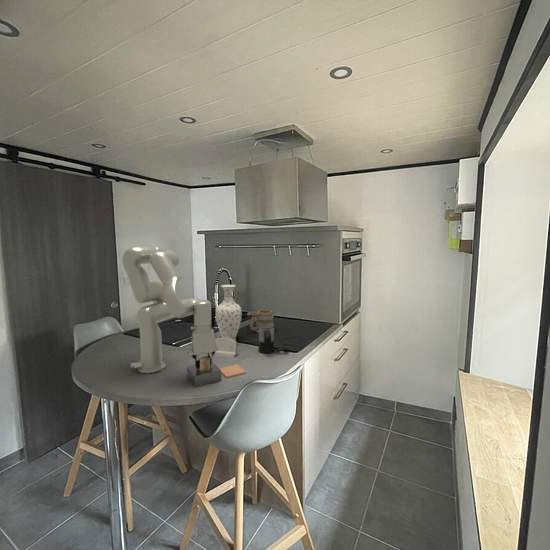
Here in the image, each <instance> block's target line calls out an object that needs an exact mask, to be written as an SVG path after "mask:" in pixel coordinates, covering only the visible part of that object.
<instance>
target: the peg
mask: <svg viewBox="0 0 550 550" xmlns="http://www.w3.org/2000/svg"><path fill="white" fill-rule="evenodd" d="M199 360H200V369H198V368H197V370H198V371H199V372H202V371H206V370H210V358H209V357H208V355H207V354H206V355H205V354H204V355H200V356H199Z"/></svg>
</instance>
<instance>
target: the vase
mask: <svg viewBox="0 0 550 550" xmlns="http://www.w3.org/2000/svg"><path fill="white" fill-rule="evenodd" d="M220 287H221V288H222V289H223V293H224V295H223V301H222V302H221V303H220V304H219V305H217V306H216V308H215V320H216V321H215V322H216V325H217V327H218V331H219V334H220V336H221V337H220V338H229V339H232V340H235V341H236V339H237V335H238V332H239V329H240V325H241V322H242V307H241V306H240V304H238V303H236V302H235V300H234V297H233V296H234V295H233V293H234V289H235V287H236V285H235V284H222V285H221V286H220Z"/></svg>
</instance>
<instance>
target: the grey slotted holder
mask: <svg viewBox="0 0 550 550" xmlns="http://www.w3.org/2000/svg"><path fill="white" fill-rule="evenodd" d="M186 377H187V379H188V378H189V379H188V381H189V382H190V383H191V382H192V383H191V384H192V385H193V387H194V388H197V387H198V386H199V387H203V386H206V385H210V384H213V383H218V382H221V381H222V373H221V370H220V369H219V366H218V365H217V364H216V363H214V362H213V361H212V364H211V367H210V370H206V371H202V372H199V371H198V370H197V367H196V366H195V364H191V365H187V366H186Z"/></svg>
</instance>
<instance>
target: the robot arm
mask: <svg viewBox="0 0 550 550" xmlns="http://www.w3.org/2000/svg"><path fill="white" fill-rule="evenodd" d="M121 261H122V266H123V269H124V271H125V272H126V275H127V277H128V280H129V284H130V287H131V290H132V294H133V297H134V300H135V301H136V303H138V304H146V303H150V304H146V305H143V306H141V308H140V309H138V311H137V313H136V320H137V323H138V326H139V339H140V359H139V361H137V362H131V363H130V368H134V369H137V370H138V372H139V373H142V374H154V373H158V372H161V371H163V370H164V369H165V368H166V367H167V364H166V362H164V361H163V348H162V347H163V346H162V341H163V340H162V330H161V328H160V327H159V324H158V323H161V322H163V321H166V320H169V319H170V317H171V316H173V317H175V318H177V319H183V318H186V317H188V316H192V315H193V321H194V322H193V326H190V330H191V331H192V334H191V343H190V345H191V347H190V348H189V350H188V351H187V356H188V357H190V358H192V359H194V360H195V361H194V362H195V364H194V365H195V366H196V367H197V368H198V369H200V360H199V357H200V356H202V355H205V354H206V355H207V353H208V355H207V356H208V357H209V358H210V367H211V364H212V362H213V361H212V359H213V356H215V355H214V354H215V352H216V351H218V349H219V348H218V347H217V346H216V344H215V338H216V336H215V332H214V329H213V328H212V303H211V301H210V300H207V299H198V298H196V297H189V298H185V299H180V298H179V295H178V294H177V292H176V285H177V284H178V283H179V282H180V281H181V278H182V277H181V275H180V273H179V272H178V270H177V269H176V268H177V266H178V265H179V263H180V258H179V256H178V254H177V253H176V252H175V251H173V250H170V249H167V248H164V247H159V246H155V245H147V246H146V245H143V246H142V245H141V246H140V245H138V246H132V247H129V248H127V249H126V250H125V251H124V252H123V255H122V259H121ZM146 264H147V265H148V264H150V265H151V268H152V269H153V270H154V272H155V274H156V275H157V277H158V279H159V280H160V281H156V280H155V281H151V280H150V278H149V275H148V273H147V271H146V269H145V268H144V267H143V266H142V265H146ZM151 303H152V304H151Z"/></svg>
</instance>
